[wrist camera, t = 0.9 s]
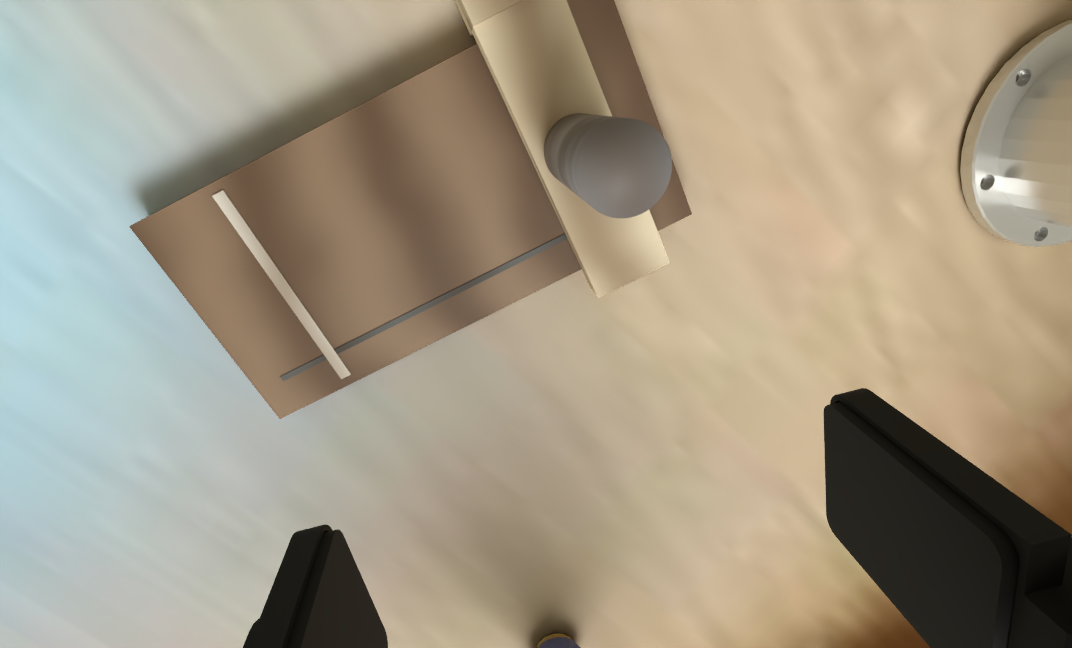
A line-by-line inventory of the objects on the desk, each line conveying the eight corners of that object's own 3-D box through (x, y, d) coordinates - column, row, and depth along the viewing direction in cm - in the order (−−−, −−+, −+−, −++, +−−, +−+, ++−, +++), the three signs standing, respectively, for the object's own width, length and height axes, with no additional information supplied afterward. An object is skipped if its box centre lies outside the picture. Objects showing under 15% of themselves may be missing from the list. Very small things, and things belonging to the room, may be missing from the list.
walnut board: (595, -16, 28) (605, -25, 26) (678, 207, 32) (692, 214, 30) (150, 218, 29) (127, 226, 27) (289, 401, 34) (279, 419, 32)
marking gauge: (530, -39, 27) (581, -135, 16) (646, 244, 33) (742, 318, 22) (455, 2, 27) (452, -66, 16) (582, 276, 33) (645, 365, 22)
